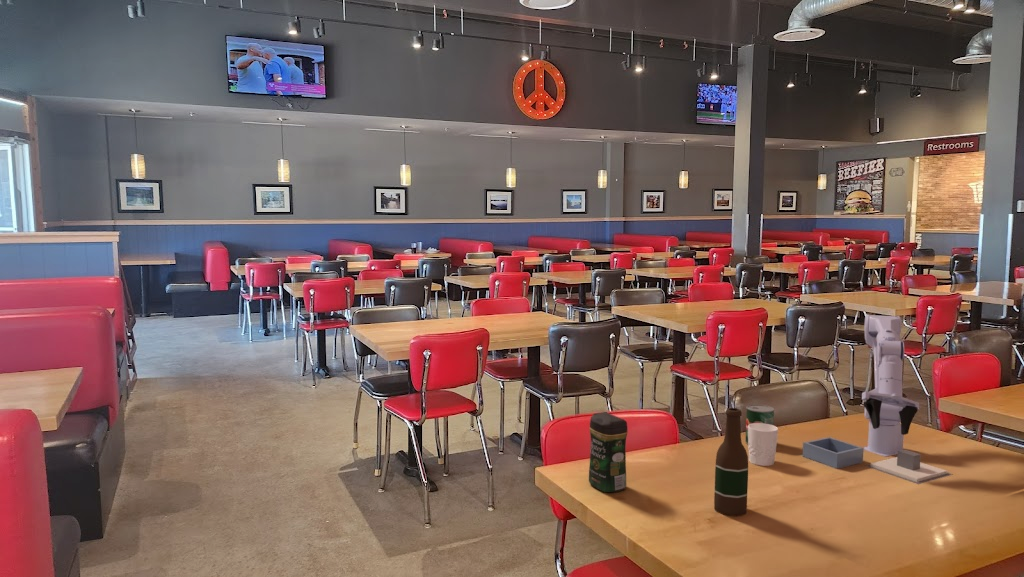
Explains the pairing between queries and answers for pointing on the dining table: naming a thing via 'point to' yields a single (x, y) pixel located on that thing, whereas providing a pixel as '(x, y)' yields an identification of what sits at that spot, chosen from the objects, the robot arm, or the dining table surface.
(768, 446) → the white cup
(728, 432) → the beer bottle
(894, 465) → the lid
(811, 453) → the open box
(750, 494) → the dining table surface
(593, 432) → the coffee jar
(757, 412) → the canned tomato
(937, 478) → the mat
